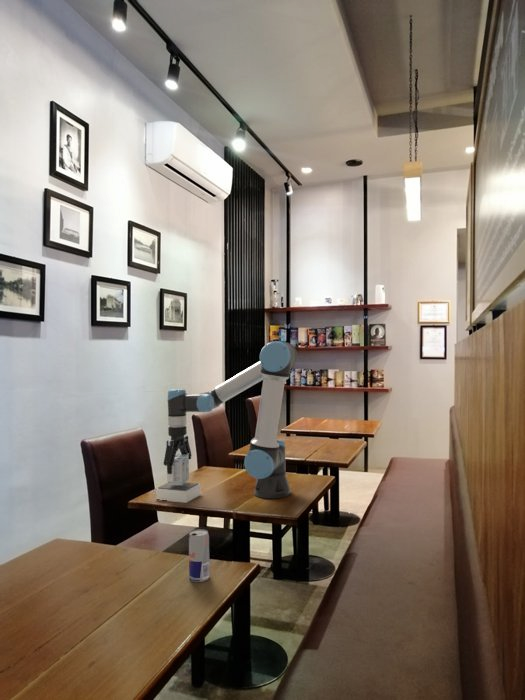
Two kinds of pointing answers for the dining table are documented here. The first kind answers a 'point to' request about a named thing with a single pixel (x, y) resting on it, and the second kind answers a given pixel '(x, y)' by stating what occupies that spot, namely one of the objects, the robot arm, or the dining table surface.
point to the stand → (178, 492)
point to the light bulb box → (180, 469)
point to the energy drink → (199, 556)
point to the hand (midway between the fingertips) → (178, 478)
